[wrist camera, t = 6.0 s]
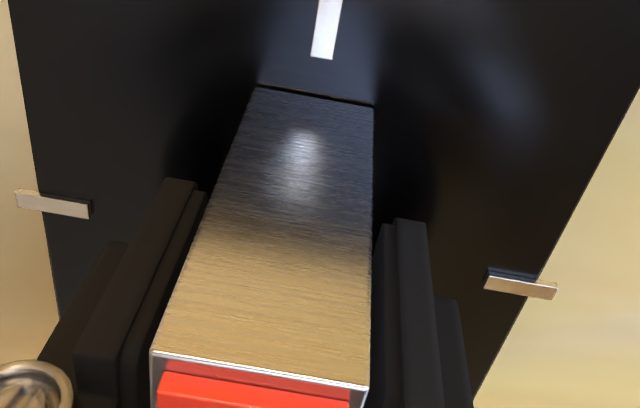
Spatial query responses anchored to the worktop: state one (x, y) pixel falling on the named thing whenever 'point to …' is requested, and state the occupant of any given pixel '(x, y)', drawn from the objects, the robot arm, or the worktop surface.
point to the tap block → (347, 87)
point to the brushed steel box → (277, 267)
